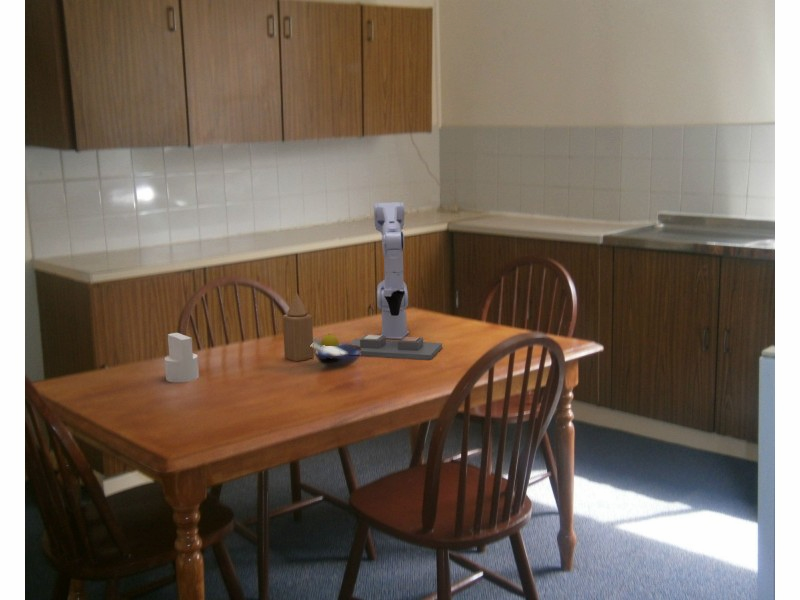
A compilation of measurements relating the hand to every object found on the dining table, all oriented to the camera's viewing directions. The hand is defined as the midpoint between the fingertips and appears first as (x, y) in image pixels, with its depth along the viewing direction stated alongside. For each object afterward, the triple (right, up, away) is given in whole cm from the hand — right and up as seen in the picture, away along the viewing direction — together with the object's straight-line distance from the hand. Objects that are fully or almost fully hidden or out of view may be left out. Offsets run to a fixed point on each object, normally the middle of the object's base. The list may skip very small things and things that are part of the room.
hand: (394, 315), depth 278 cm
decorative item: (-29, -13, -6) cm, 32 cm away
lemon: (-19, -13, -9) cm, 25 cm away
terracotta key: (+5, -9, -3) cm, 11 cm away
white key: (-7, -9, 0) cm, 11 cm away
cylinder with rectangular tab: (-59, -17, -24) cm, 66 cm away
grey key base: (-1, -11, -1) cm, 11 cm away
